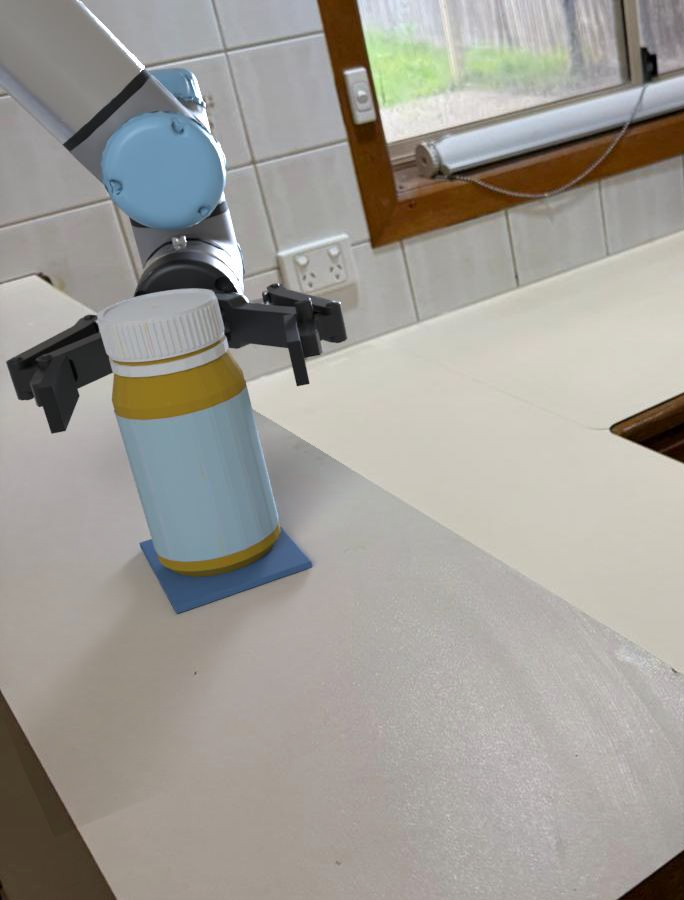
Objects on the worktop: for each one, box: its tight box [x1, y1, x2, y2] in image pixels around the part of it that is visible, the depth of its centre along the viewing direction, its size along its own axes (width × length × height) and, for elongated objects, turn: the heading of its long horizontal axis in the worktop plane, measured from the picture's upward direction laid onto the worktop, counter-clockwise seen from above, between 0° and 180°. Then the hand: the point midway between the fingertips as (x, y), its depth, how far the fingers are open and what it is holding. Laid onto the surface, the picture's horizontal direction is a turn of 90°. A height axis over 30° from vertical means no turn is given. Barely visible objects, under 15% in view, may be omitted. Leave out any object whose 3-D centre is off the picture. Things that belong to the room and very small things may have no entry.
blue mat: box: [139, 525, 313, 615], centre depth 67 cm, size 10×8×1 cm
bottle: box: [96, 288, 281, 577], centre depth 64 cm, size 7×7×15 cm
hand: (177, 386), depth 65 cm, fingers open, 13 cm apart
